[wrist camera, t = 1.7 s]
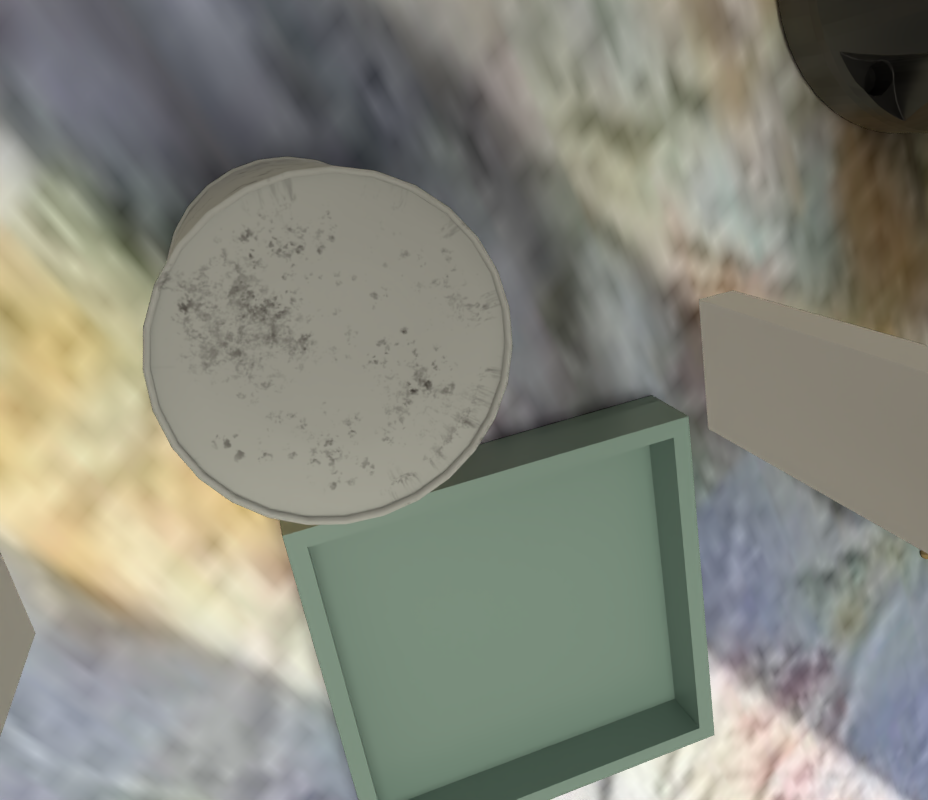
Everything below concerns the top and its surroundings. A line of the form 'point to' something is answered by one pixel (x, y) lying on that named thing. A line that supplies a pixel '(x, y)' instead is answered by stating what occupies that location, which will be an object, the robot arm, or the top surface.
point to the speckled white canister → (324, 341)
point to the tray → (518, 615)
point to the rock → (924, 554)
